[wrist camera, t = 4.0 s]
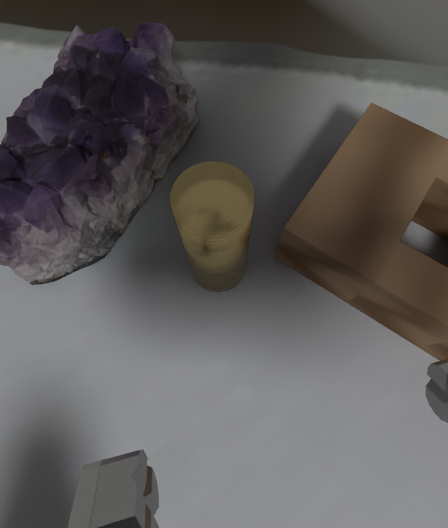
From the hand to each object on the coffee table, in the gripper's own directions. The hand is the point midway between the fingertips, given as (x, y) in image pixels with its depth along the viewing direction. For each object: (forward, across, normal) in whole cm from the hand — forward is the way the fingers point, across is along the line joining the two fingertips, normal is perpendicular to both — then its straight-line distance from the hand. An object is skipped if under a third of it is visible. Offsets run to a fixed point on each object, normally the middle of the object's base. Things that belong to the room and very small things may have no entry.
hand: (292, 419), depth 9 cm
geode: (+24, +7, -4) cm, 25 cm away
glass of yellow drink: (+16, 0, +3) cm, 17 cm away
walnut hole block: (+14, -15, +5) cm, 21 cm away
